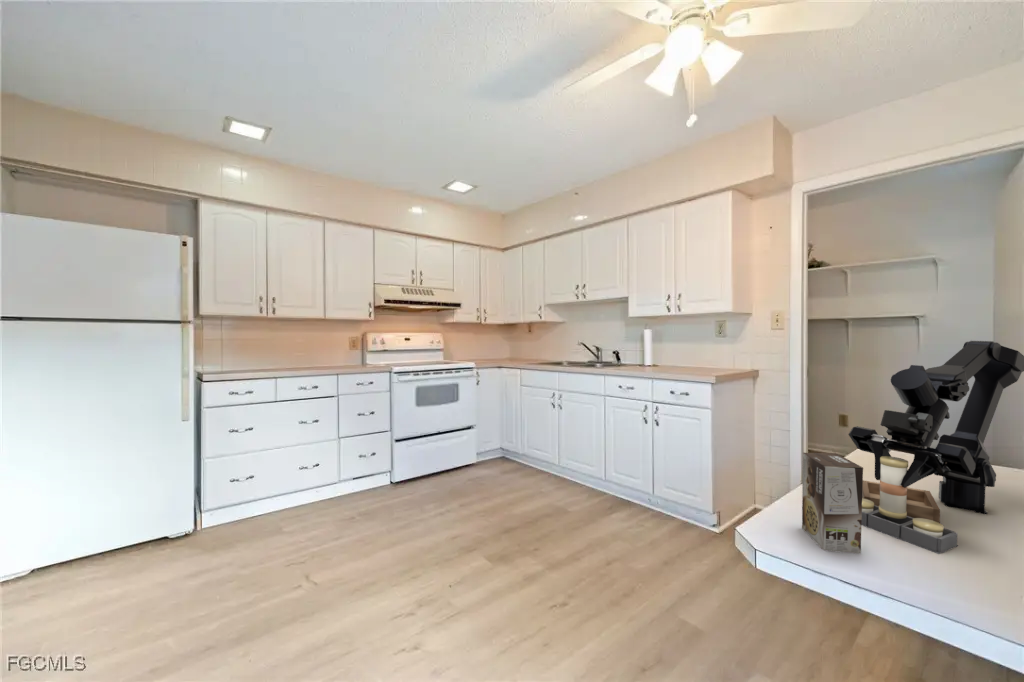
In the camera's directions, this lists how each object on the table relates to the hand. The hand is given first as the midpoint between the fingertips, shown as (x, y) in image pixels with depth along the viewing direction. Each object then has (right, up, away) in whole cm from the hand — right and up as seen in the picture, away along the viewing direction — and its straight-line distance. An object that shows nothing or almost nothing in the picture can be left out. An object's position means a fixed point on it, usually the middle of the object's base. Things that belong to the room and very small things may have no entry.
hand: (889, 482), depth 86 cm
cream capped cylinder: (+1, -7, +1) cm, 7 cm away
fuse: (+4, -10, -4) cm, 11 cm away
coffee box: (-14, -11, -3) cm, 18 cm away
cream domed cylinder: (-1, -9, +6) cm, 11 cm away
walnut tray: (+11, -10, +11) cm, 19 cm away
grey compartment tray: (+1, -10, +1) cm, 10 cm away
